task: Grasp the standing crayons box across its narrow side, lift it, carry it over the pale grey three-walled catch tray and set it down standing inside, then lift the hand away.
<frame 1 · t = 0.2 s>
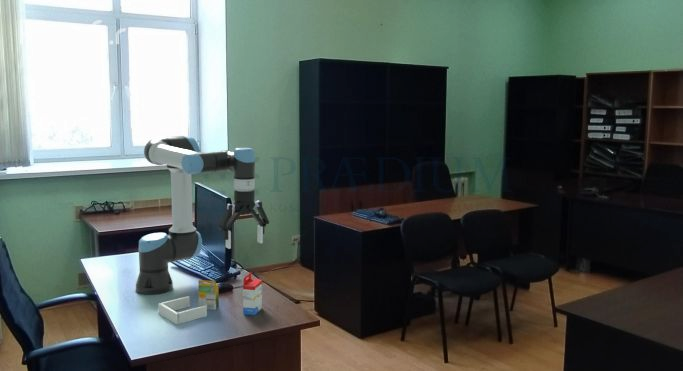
hand: (244, 245, 218), 27 cm above the table, fingers open, 13 cm apart
crayon box: (208, 308, 228), on the table
ink box: (252, 311, 225), on the table
catch tray: (183, 314, 220), on the table
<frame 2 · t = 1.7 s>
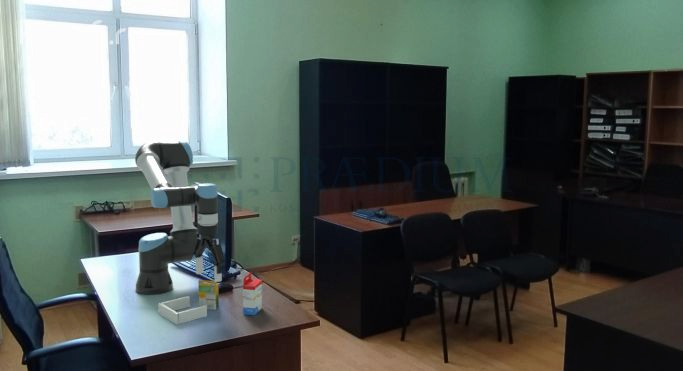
hand: (208, 277, 226), 13 cm above the table, fingers open, 13 cm apart
nothing on the table moved.
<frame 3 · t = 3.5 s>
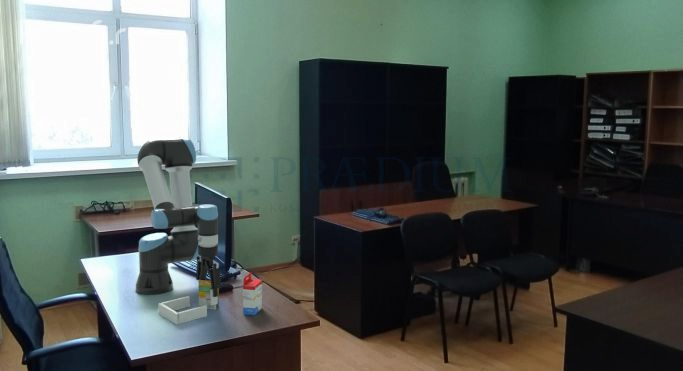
hand: (208, 301, 227), 3 cm above the table, fingers closed on crayon box, 7 cm apart
crayon box: (208, 308, 228), on the table, touching gripper
everything else where it was.
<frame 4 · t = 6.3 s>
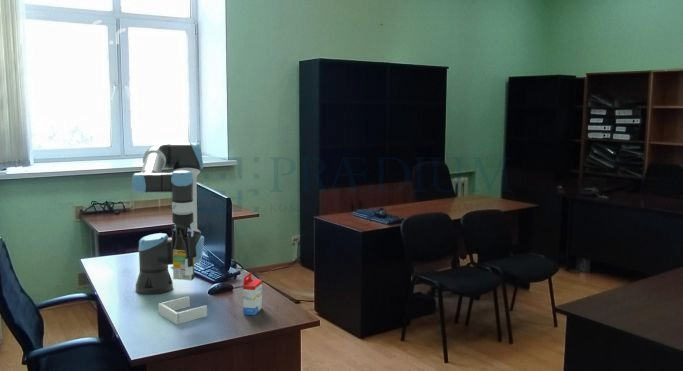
hand: (183, 272, 218), 17 cm above the table, fingers closed on crayon box, 7 cm apart
crayon box: (184, 279, 218), point 14 cm above the table, touching gripper
everything else where it was.
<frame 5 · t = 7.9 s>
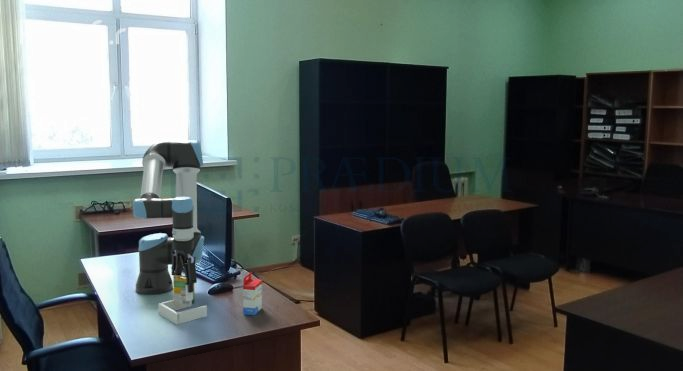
hand: (184, 297, 219), 7 cm above the table, fingers closed on crayon box, 7 cm apart
crayon box: (184, 304, 220), point 4 cm above the table, touching gripper
everything else where it was.
when the fingers open (4 cm above the table, at t = 9.3 s): crayon box drops 1 cm, resting in catch tray.
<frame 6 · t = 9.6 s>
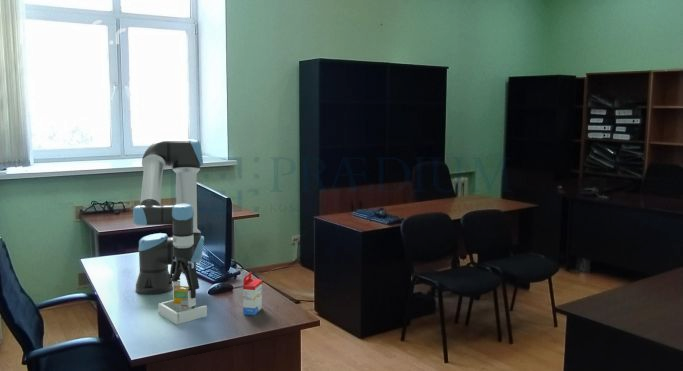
hand: (184, 301, 220), 5 cm above the table, fingers open, 11 cm apart
crayon box: (184, 314, 221), resting in catch tray
everything else where it was.
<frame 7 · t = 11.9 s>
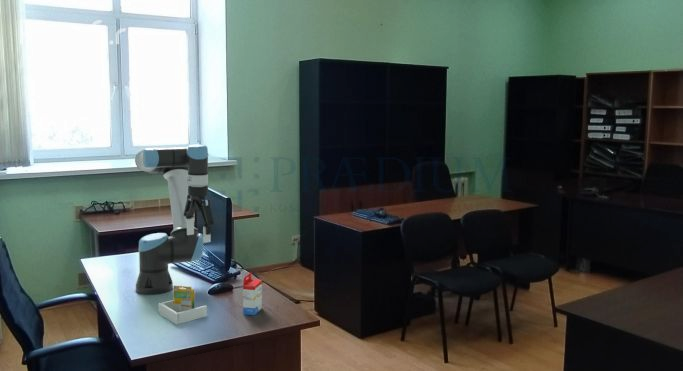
hand: (198, 238, 227), 27 cm above the table, fingers open, 13 cm apart
nothing on the table moved.
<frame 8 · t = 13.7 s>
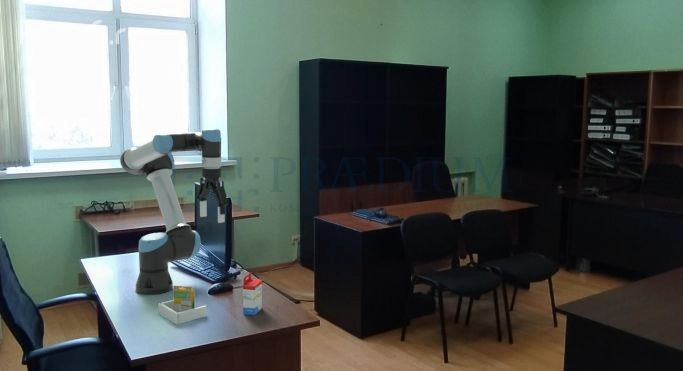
hand: (212, 219, 235), 33 cm above the table, fingers open, 13 cm apart
nothing on the table moved.
at the end: crayon box inside the target area on the catch tray (0.0 cm from its centre), point 0.0 cm above the catch tray's base; crayon box tilted 0°; the gripper is holding nothing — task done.
